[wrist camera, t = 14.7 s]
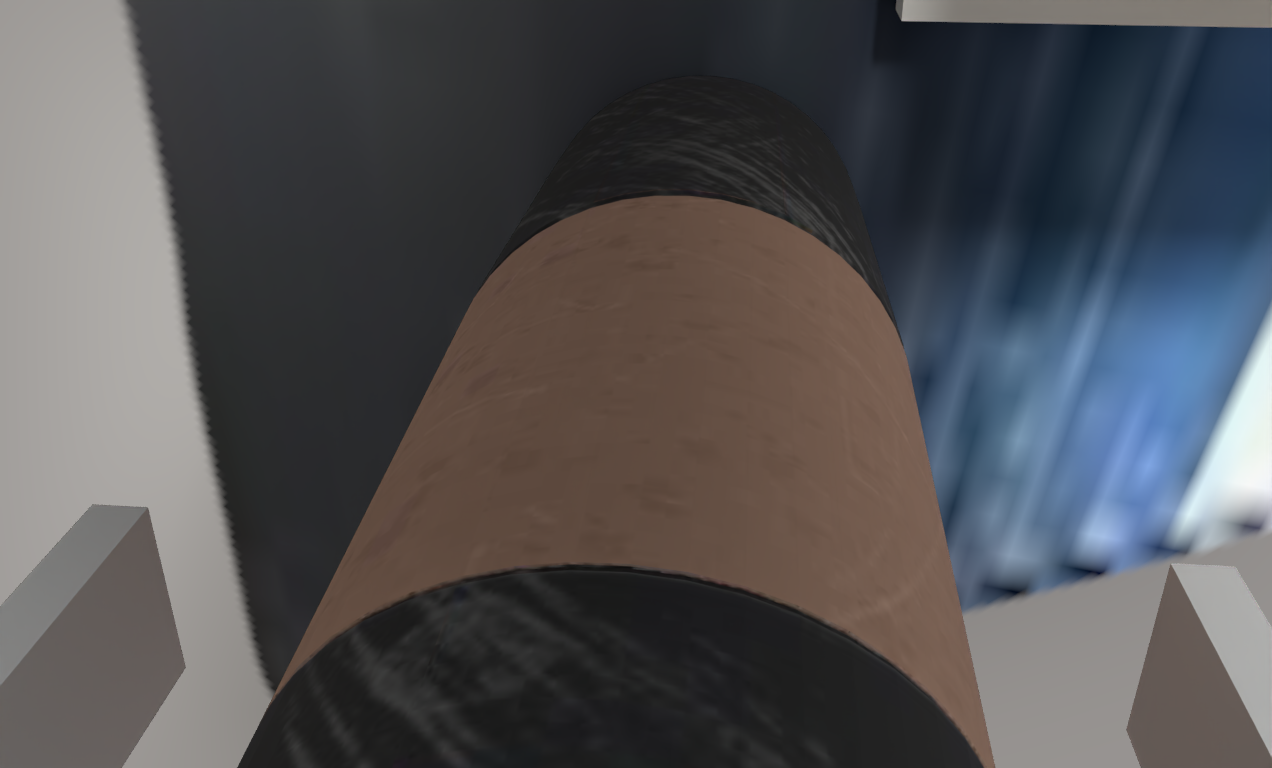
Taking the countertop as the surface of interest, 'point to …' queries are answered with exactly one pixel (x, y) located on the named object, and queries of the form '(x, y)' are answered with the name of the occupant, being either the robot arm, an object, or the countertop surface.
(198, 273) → the countertop surface
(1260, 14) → the white flat square slab
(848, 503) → the travel mug
